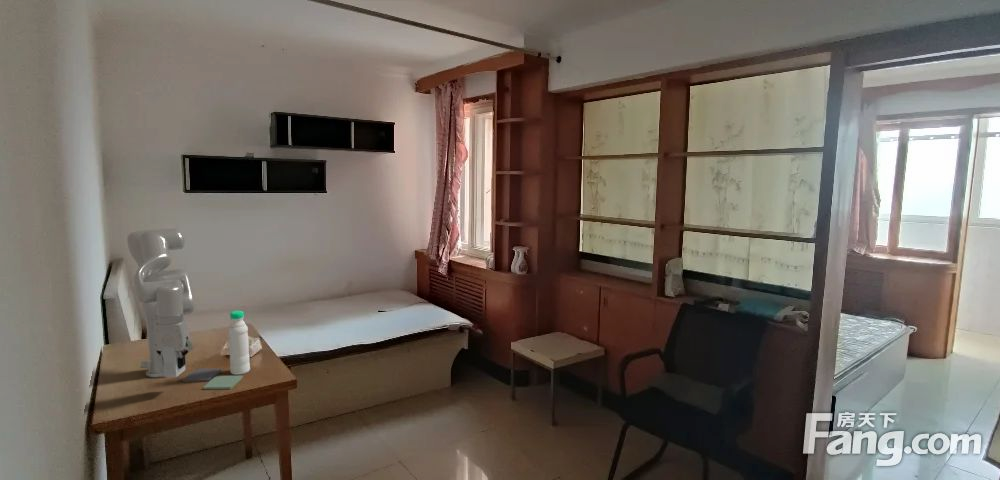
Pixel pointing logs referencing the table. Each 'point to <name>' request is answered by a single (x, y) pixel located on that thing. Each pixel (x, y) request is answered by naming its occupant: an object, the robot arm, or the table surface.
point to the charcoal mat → (202, 375)
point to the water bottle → (238, 344)
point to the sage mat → (223, 382)
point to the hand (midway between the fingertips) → (174, 366)
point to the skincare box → (171, 362)
